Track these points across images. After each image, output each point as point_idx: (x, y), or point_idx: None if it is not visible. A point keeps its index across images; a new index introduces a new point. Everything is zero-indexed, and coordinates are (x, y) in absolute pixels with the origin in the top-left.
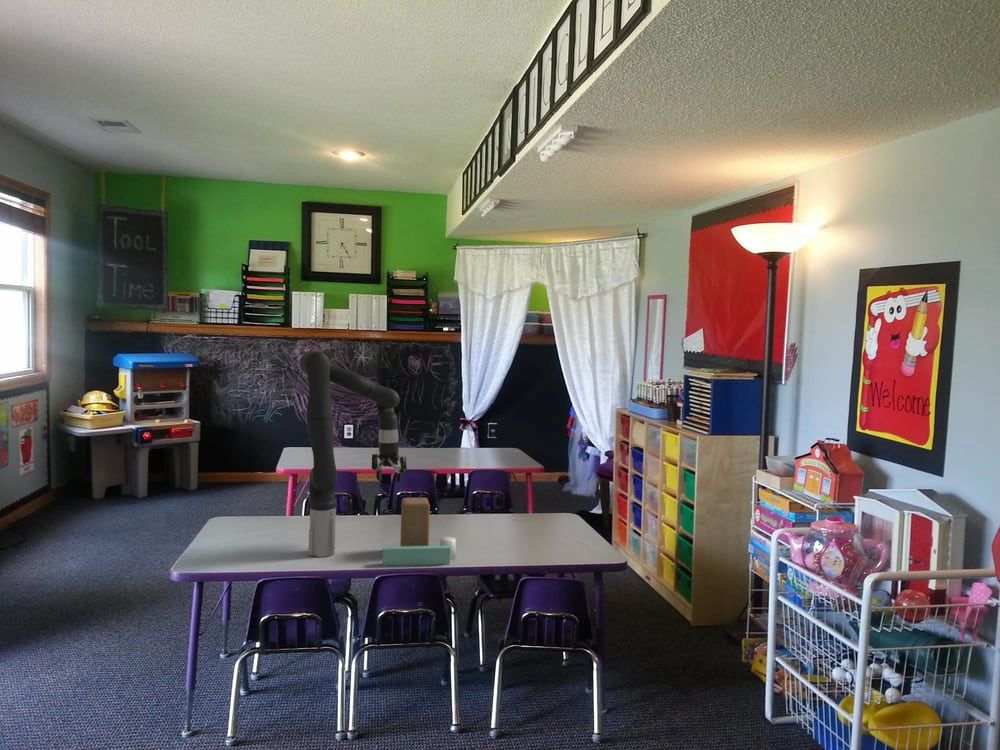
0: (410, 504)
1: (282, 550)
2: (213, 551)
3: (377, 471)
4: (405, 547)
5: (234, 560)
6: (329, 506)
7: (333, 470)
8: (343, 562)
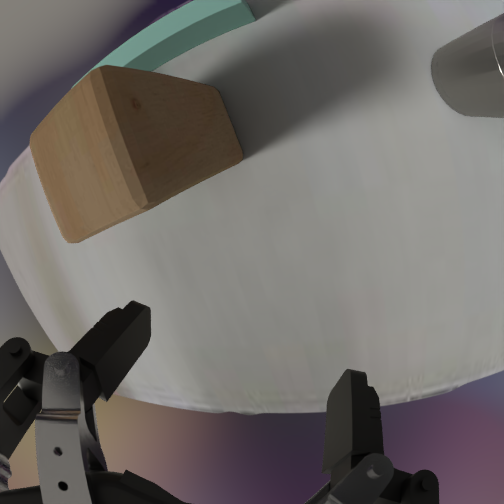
0: (74, 86)
1: None
2: None
3: (370, 456)
4: (168, 26)
5: None
6: None
7: None
8: (372, 6)
